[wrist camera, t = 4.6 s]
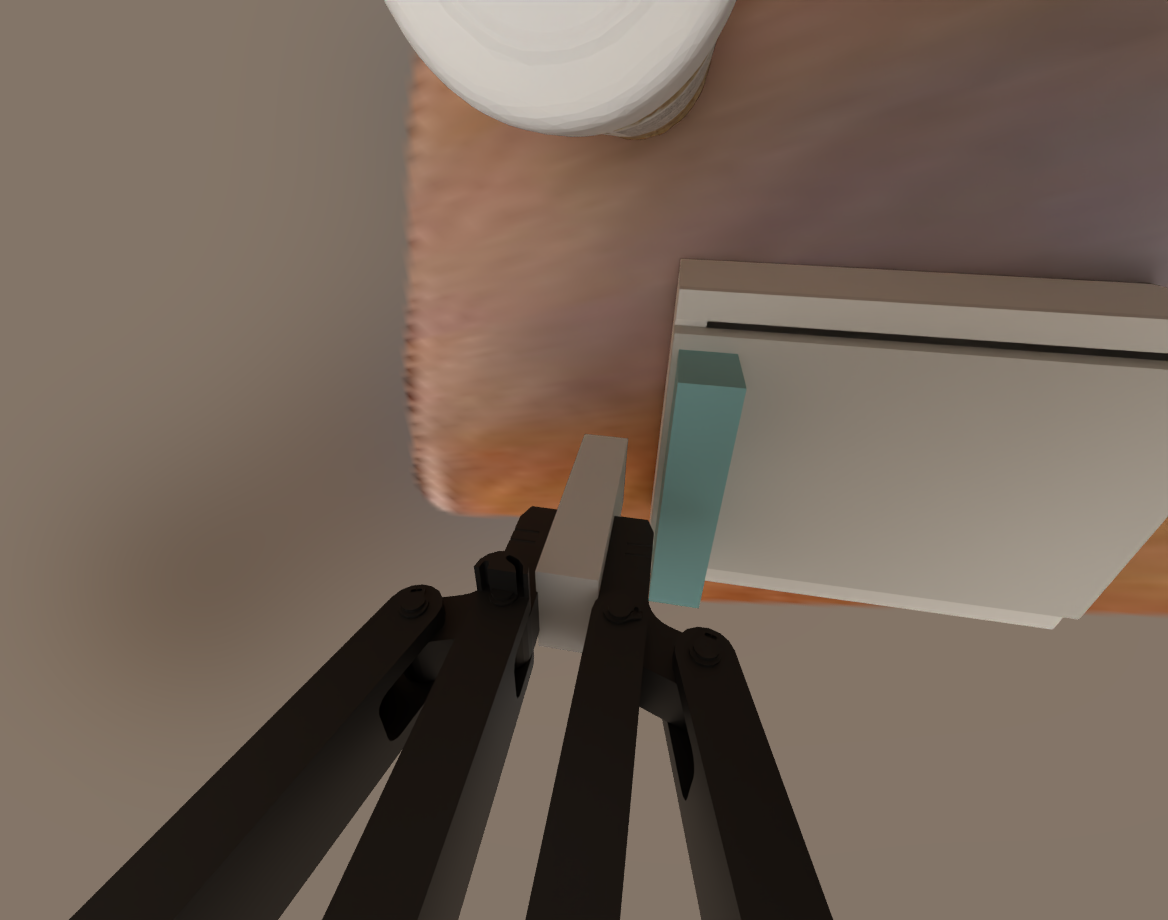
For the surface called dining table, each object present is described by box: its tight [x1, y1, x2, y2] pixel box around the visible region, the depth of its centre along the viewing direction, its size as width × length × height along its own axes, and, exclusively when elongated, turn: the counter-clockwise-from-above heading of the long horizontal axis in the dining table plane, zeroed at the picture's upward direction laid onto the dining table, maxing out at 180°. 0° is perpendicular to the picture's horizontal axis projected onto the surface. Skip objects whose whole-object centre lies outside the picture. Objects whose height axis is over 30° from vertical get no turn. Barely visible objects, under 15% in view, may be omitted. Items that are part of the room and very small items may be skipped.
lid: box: [649, 325, 1168, 619], centre depth 16 cm, size 16×10×3 cm, turn 89°
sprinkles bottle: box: [384, 0, 736, 140], centre depth 10 cm, size 5×5×14 cm
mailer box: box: [650, 259, 1168, 629], centre depth 19 cm, size 16×12×5 cm
